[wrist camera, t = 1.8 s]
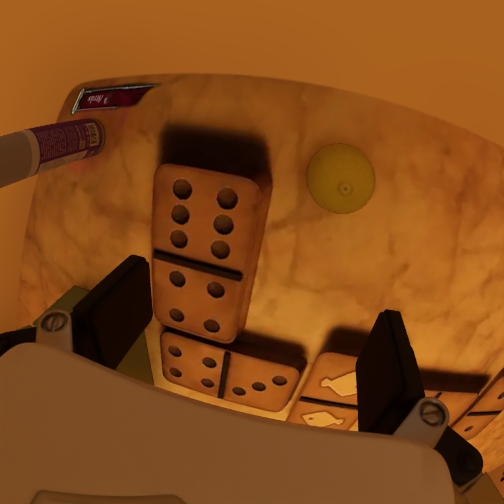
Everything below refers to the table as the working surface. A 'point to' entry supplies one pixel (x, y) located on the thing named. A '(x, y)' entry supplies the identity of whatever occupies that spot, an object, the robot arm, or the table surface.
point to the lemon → (340, 178)
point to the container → (48, 148)
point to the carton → (136, 357)
